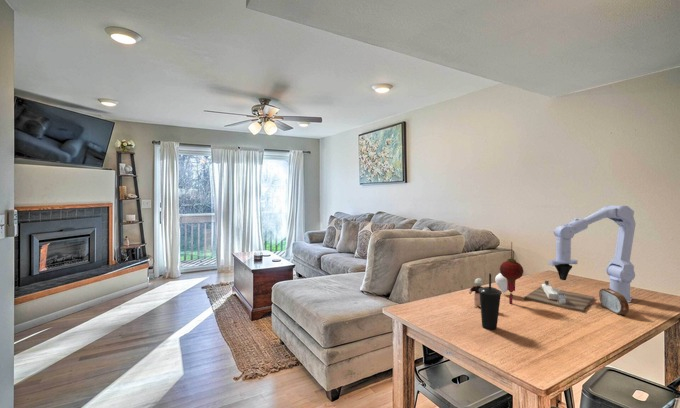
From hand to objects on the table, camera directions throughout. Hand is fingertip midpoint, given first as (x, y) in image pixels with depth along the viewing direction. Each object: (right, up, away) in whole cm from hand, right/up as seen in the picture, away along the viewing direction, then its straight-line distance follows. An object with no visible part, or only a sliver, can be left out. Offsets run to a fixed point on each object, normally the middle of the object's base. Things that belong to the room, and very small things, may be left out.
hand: (562, 279), depth 149 cm
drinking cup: (-52, -10, -34) cm, 63 cm away
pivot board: (-4, -8, -3) cm, 10 cm away
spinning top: (-26, -8, +4) cm, 28 cm away
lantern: (-30, -9, -9) cm, 32 cm away
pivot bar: (-6, -7, +1) cm, 9 cm away
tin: (+9, -9, -17) cm, 21 cm away
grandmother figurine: (-46, -9, -13) cm, 49 cm away
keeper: (-8, -8, -8) cm, 13 cm away
